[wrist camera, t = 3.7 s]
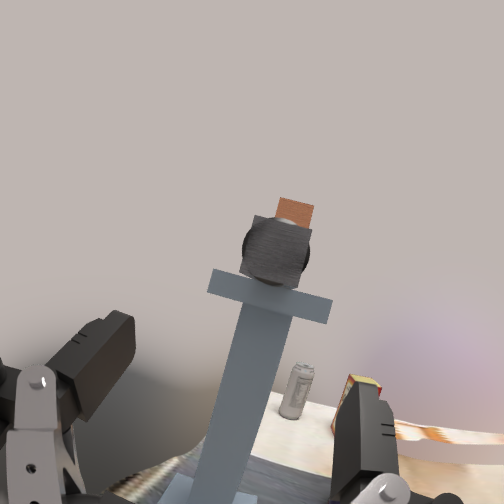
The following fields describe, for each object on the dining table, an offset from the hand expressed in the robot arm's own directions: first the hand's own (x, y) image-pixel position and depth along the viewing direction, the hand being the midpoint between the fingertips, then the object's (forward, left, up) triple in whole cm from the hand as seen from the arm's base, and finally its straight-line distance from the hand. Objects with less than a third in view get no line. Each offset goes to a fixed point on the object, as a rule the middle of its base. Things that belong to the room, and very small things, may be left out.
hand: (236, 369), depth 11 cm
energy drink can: (-60, -43, -29) cm, 79 cm away
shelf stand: (-16, -16, -29) cm, 37 cm away
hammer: (-12, -12, +3) cm, 17 cm away
